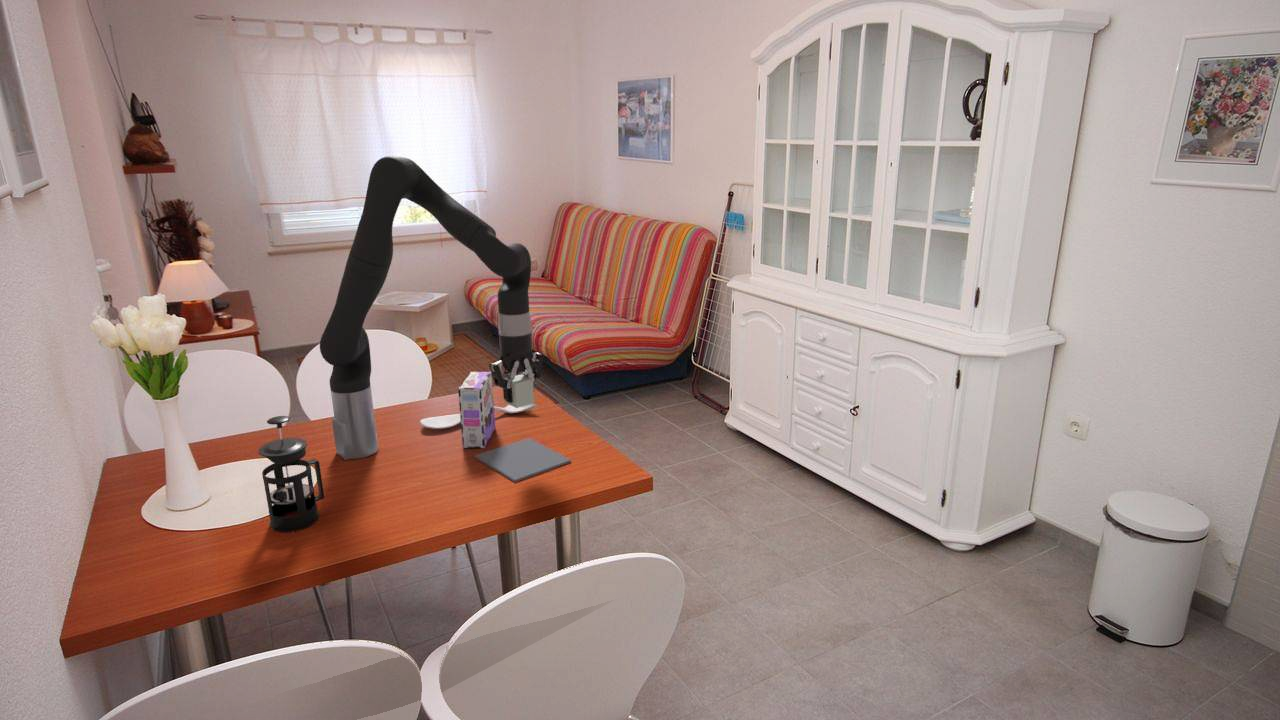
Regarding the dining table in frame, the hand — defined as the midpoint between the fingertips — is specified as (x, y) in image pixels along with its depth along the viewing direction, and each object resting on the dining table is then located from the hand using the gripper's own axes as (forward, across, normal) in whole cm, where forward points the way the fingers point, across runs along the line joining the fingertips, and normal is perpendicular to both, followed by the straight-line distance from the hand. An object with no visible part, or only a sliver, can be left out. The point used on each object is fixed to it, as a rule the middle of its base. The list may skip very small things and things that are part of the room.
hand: (519, 398), depth 177 cm
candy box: (+16, +1, -19) cm, 25 cm away
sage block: (+1, 0, 0) cm, 1 cm away
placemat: (+16, 0, 0) cm, 16 cm away
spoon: (+16, -6, -31) cm, 35 cm away
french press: (+16, +51, -7) cm, 54 cm away
